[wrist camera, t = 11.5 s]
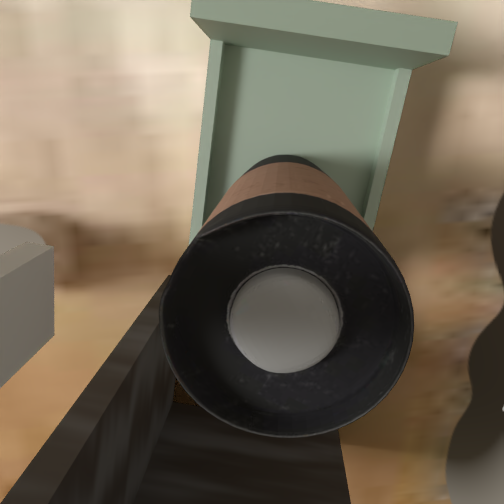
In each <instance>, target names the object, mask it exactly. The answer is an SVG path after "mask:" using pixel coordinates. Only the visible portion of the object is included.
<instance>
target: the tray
mask: <svg viewBox="0 0 504 504" xmlns="http://www.w3.org/2000/svg"><path fill="white" fill-rule="evenodd" d="M190 17H191V18H192V19H193V21H194V22H195V23H196V24H197V25H198V26H199V27H200V28H201V29H202V30H203V31H204V33H205V34H206V35H207V36H208V37H209V38H210V39H211V41H210V50H209V60H208V69H207V79H206V88H205V97H204V107H203V116H202V126H201V135H200V145H199V154H198V163H197V173H196V182H195V192H194V201H193V211H192V220H191V229H190V239H189V245H190V243H191V242H192V240H193V239H194V238H195V236H196V235H197V233H198V232H199V230H200V229H201V228H202V226H203V225H204V223H205V222H206V221H207V219H208V218H209V216H210V215H211V213H212V212H213V211H214V209H215V208H216V206H217V205H218V203H219V202H220V201H221V199H222V198H223V196H224V195H225V194H226V192H227V191H228V189H229V188H230V187H231V186H232V185H233V184H234V183H235V182H236V181H237V180H238V179H239V178H240V177H241V176H242V175H243V174H244V173H245V172H246V171H247V170H249V169H250V168H251V167H252V166H253V165H255V164H256V163H258V162H259V161H261V160H263V159H265V158H268V157H271V156H275V155H285V154H287V155H295V156H299V157H302V158H304V159H307V160H309V161H310V162H312V163H313V164H315V165H316V166H317V167H319V168H320V169H321V170H322V171H323V172H325V173H326V174H327V175H328V176H329V177H330V178H331V179H332V180H333V181H334V182H336V183H337V184H338V185H339V187H340V188H341V189H342V191H343V192H344V193H345V194H346V196H347V197H348V199H349V200H350V201H351V203H352V204H353V205H354V207H355V208H356V209H357V211H358V212H359V214H360V215H361V216H362V218H363V219H364V220H365V222H366V223H367V224H368V226H369V227H370V228H371V230H372V231H373V228H374V224H375V220H376V216H377V212H378V208H379V204H380V200H381V196H382V191H383V187H384V183H385V179H386V175H387V171H388V167H389V163H390V159H391V154H392V150H393V146H394V142H395V138H396V134H397V130H398V126H399V122H400V117H401V113H402V109H403V105H404V101H405V97H406V93H407V89H408V84H409V80H410V76H411V72H412V70H413V69H415V68H418V67H421V66H423V65H426V64H428V63H431V62H434V61H436V60H439V59H441V58H444V57H447V56H449V53H450V49H451V46H452V42H453V38H454V34H455V31H456V27H457V23H458V22H454V21H447V20H441V19H434V18H427V17H420V16H413V15H407V14H400V13H393V12H386V11H380V10H373V9H366V8H359V7H353V6H346V5H339V4H332V3H326V2H319V1H312V0H192V2H191V13H190Z"/></svg>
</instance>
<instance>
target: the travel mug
mask: <svg viewBox="0 0 504 504" xmlns="http://www.w3.org/2000/svg"><path fill="white" fill-rule="evenodd" d="M159 328H160V334H161V340H162V344H163V348H164V352H165V355H166V358H167V360H168V362H169V365H170V367H171V369H172V371H173V373H174V375H175V376H176V378H177V380H178V382H179V383H180V384H181V386H182V387H183V388H184V390H185V391H186V392H187V393H188V394H189V395H190V396H191V397H192V398H193V400H194V401H195V402H196V403H197V404H199V405H200V406H201V407H202V408H204V409H205V410H206V411H207V412H209V413H210V414H212V415H213V416H215V417H216V418H218V419H220V420H221V421H223V422H225V423H227V424H229V425H231V426H233V427H236V428H239V429H241V430H244V431H247V432H250V433H255V434H259V435H263V436H270V437H278V438H297V437H309V436H314V435H319V434H324V433H327V432H330V431H333V430H336V429H339V428H341V427H343V426H346V425H348V424H350V423H352V422H354V421H356V420H357V419H359V418H361V417H362V416H364V415H365V414H367V413H368V412H369V411H370V410H372V409H373V408H374V407H376V406H377V405H378V404H379V403H380V402H381V401H382V400H383V399H384V398H385V397H386V396H387V395H388V393H389V392H390V391H391V389H392V388H393V387H394V386H395V384H396V383H397V381H398V379H399V377H400V376H401V374H402V372H403V370H404V368H405V365H406V363H407V360H408V358H409V355H410V351H411V346H412V342H413V333H414V315H413V307H412V302H411V298H410V293H409V291H408V288H407V285H406V283H405V280H404V278H403V276H402V274H401V272H400V270H399V268H398V267H397V265H396V263H395V261H394V260H393V258H392V257H391V256H390V254H389V253H388V252H387V250H386V249H385V247H384V246H383V245H382V243H381V242H380V241H379V239H378V238H377V237H376V235H375V234H374V233H373V231H372V230H371V228H370V227H369V226H368V224H367V223H366V222H365V220H364V219H363V218H362V216H361V215H360V214H359V212H358V211H357V209H356V208H355V207H354V205H353V204H352V203H351V201H350V200H349V199H348V197H347V196H346V194H345V193H344V192H343V191H342V189H341V188H340V187H339V185H338V184H337V183H336V182H334V181H333V180H332V179H331V178H330V177H329V176H328V175H327V174H326V173H325V172H323V171H322V170H321V169H320V168H319V167H317V166H316V165H315V164H313V163H312V162H310V161H309V160H307V159H304V158H302V157H299V156H295V155H287V154H285V155H275V156H271V157H268V158H265V159H263V160H261V161H259V162H258V163H256V164H255V165H253V166H252V167H251V168H250V169H249V170H247V171H246V172H245V173H244V174H243V175H242V176H241V177H240V178H239V179H238V180H237V181H236V182H235V183H234V184H233V185H232V186H231V187H230V188H229V189H228V191H227V192H226V194H225V195H224V196H223V198H222V199H221V201H220V202H219V203H218V205H217V206H216V208H215V209H214V211H213V212H212V213H211V215H210V216H209V218H208V219H207V221H206V222H205V223H204V225H203V226H202V228H201V229H200V230H199V232H198V233H197V235H196V236H195V238H194V239H193V240H192V242H191V243H190V245H189V246H188V247H187V249H186V250H185V252H184V253H183V255H182V256H181V257H180V259H179V261H178V263H177V265H176V267H175V268H174V270H173V272H172V275H171V277H170V279H169V281H168V283H167V285H166V287H165V289H164V291H163V293H162V296H161V299H160V304H159Z"/></svg>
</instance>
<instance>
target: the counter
mask: <svg viewBox="0 0 504 504" xmlns="http://www.w3.org/2000/svg"><path fill="white" fill-rule="evenodd" d="M170 277H171V276H170V275H168V277H167V278H166V279H165V281H164V282H163V283H162V285H161V286H160V288H159V289H158V290H157V292H156V293H155V294H154V296H153V297H152V298H151V300H150V301H149V302H148V304H147V305H146V307H145V308H144V309H143V311H142V312H141V313H140V315H139V316H138V317H137V319H136V320H135V321H134V323H133V324H132V326H131V327H130V328H129V330H128V331H127V332H126V334H125V335H124V336H123V338H122V339H121V340H120V342H119V343H118V345H117V346H116V347H115V349H114V350H113V351H112V353H111V354H110V355H109V357H108V358H107V359H106V361H105V362H104V364H103V365H102V366H101V368H100V369H99V370H98V372H97V373H96V374H95V376H94V377H93V378H92V380H91V381H90V383H89V384H88V385H87V387H86V388H85V389H84V391H83V392H82V393H81V395H80V396H79V397H78V399H77V400H76V402H75V403H74V404H73V406H72V407H71V408H70V410H69V411H68V412H67V414H66V415H65V416H64V418H63V419H62V421H61V422H60V423H59V425H58V426H57V427H56V429H55V430H54V431H53V433H52V434H51V435H50V437H49V438H48V440H47V441H46V442H45V444H44V445H43V446H42V448H41V449H40V450H39V452H38V453H37V455H36V456H35V457H34V459H33V460H32V461H31V463H30V464H29V465H28V467H27V468H26V469H25V471H24V472H23V474H22V475H21V476H20V478H19V479H18V480H17V482H16V483H15V484H14V486H13V487H12V488H11V490H10V491H9V493H8V494H7V495H6V497H5V498H4V499H3V501H2V502H1V503H0V504H351V502H350V496H349V490H348V484H347V479H346V473H345V467H344V462H343V456H342V450H341V445H340V439H339V433H338V430H333V431H330V432H327V433H324V434H319V435H314V436H309V437H297V438H278V437H270V436H263V435H259V434H255V433H250V432H247V431H244V430H241V429H239V428H236V427H233V426H231V425H229V424H227V423H225V422H223V421H221V420H220V419H218V418H216V417H215V416H213V415H212V414H210V413H209V412H207V411H206V410H205V409H204V408H202V407H199V406H194V405H188V404H182V403H176V402H173V396H174V387H175V378H176V376H175V375H174V373H173V371H172V369H171V367H170V365H169V362H168V360H167V358H166V355H165V352H164V348H163V344H162V340H161V334H160V328H159V304H160V299H161V296H162V293H163V291H164V289H165V287H166V285H167V283H168V281H169V279H170Z"/></svg>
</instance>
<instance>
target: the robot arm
mask: <svg viewBox="0 0 504 504" xmlns="http://www.w3.org/2000/svg"><path fill="white" fill-rule="evenodd" d="M53 336H54V246H48V245H41V244H35V243H30V242H25V243H23V244H22V245H19V246H17V247H15V248H13V249H12V250H10V251H8V252H6V253H4V254H2V255H0V388H1V387H2V386H3V385H4V384H5V383H6V382H7V381H8V380H9V379H10V378H11V377H12V376H13V375H14V374H15V373H16V372H17V371H18V370H19V369H20V368H21V367H22V366H23V365H24V364H25V363H26V362H27V361H28V360H29V359H30V358H31V357H33V356H34V355H35V354H36V353H37V352H38V351H39V350H40V349H41V348H42V347H43V346H44V345H45V344H46V343H47V342H48V341H49V340H50V339H51V338H52V337H53ZM502 410H503V411H504V406H503V408H502Z"/></svg>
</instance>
